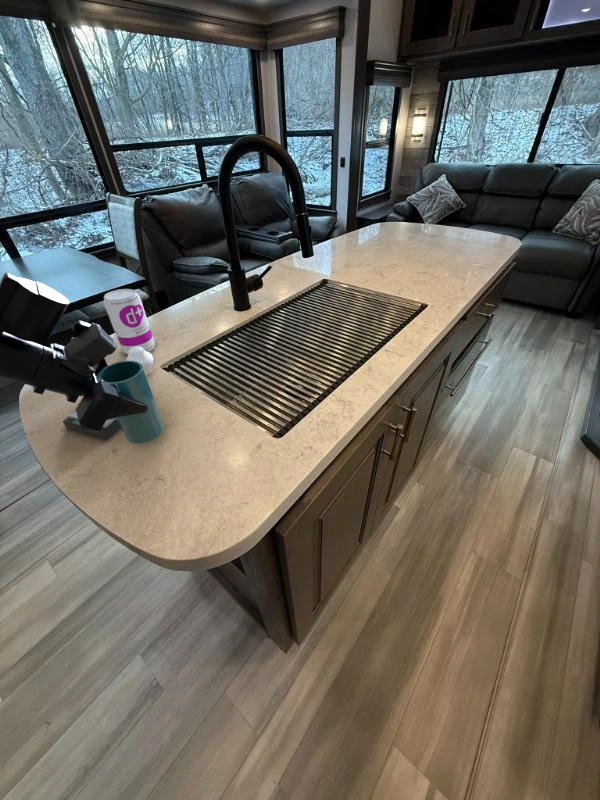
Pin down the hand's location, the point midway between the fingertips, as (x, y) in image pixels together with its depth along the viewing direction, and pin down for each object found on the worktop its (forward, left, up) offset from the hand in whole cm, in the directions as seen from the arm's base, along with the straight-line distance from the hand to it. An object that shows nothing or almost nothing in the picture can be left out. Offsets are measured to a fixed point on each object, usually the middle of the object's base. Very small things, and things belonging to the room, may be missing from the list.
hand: (141, 398), depth 57 cm
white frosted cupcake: (+17, +17, -9) cm, 26 cm away
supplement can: (+26, +26, -9) cm, 38 cm away
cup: (-1, +1, -7) cm, 7 cm away
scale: (+2, +13, -9) cm, 16 cm away
